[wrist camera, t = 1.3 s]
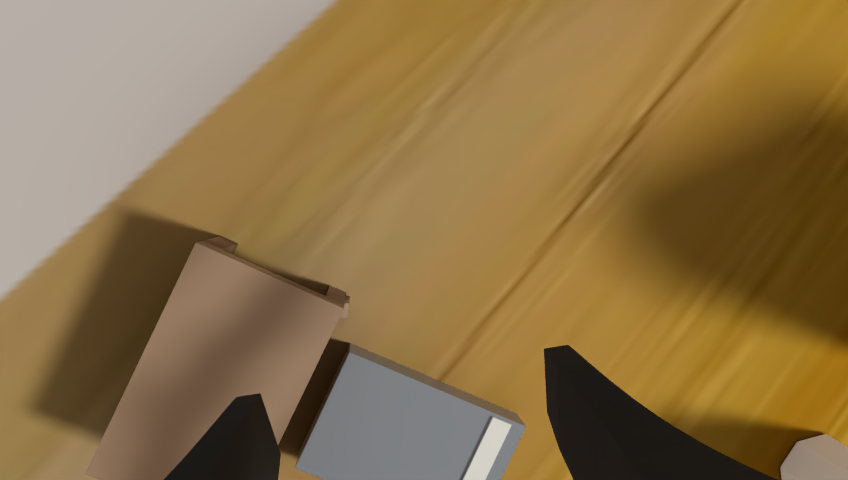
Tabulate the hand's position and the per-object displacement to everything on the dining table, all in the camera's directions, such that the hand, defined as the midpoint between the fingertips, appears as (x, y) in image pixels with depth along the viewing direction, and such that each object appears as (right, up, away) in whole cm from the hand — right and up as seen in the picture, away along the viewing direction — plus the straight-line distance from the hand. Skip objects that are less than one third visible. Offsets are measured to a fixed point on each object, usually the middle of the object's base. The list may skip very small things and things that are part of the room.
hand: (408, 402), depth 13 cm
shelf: (-10, -3, +16) cm, 19 cm away
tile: (0, -7, +18) cm, 19 cm away
